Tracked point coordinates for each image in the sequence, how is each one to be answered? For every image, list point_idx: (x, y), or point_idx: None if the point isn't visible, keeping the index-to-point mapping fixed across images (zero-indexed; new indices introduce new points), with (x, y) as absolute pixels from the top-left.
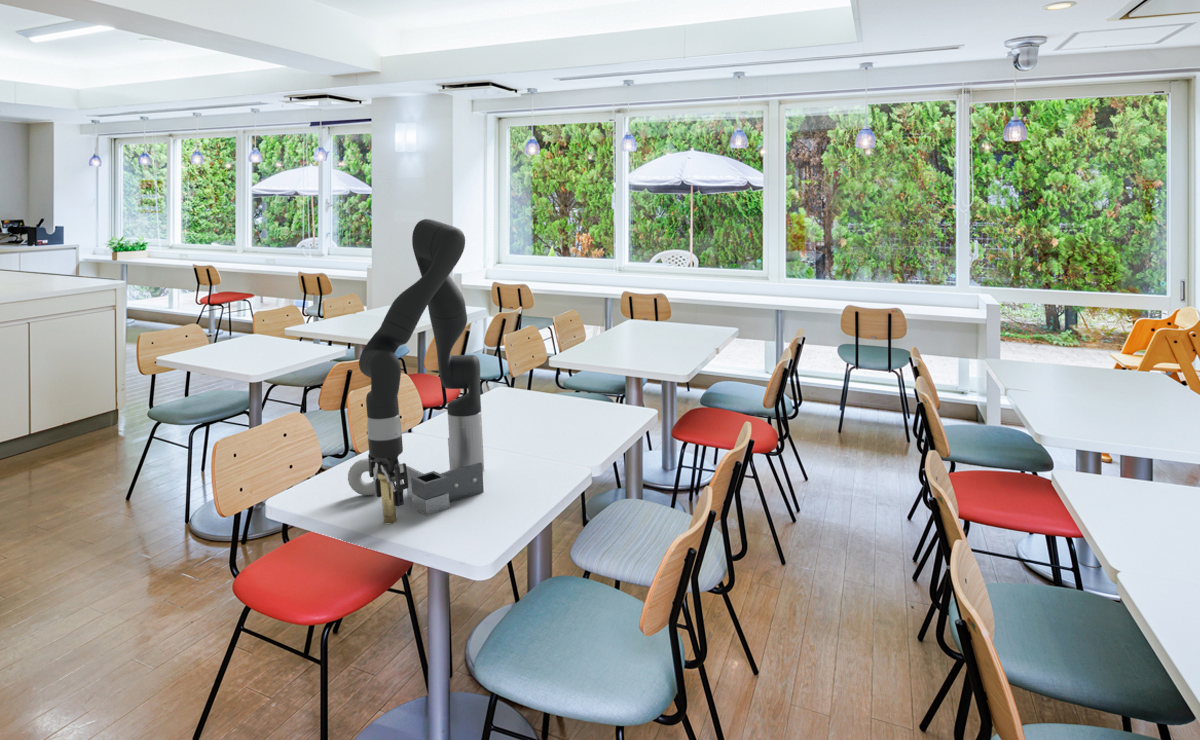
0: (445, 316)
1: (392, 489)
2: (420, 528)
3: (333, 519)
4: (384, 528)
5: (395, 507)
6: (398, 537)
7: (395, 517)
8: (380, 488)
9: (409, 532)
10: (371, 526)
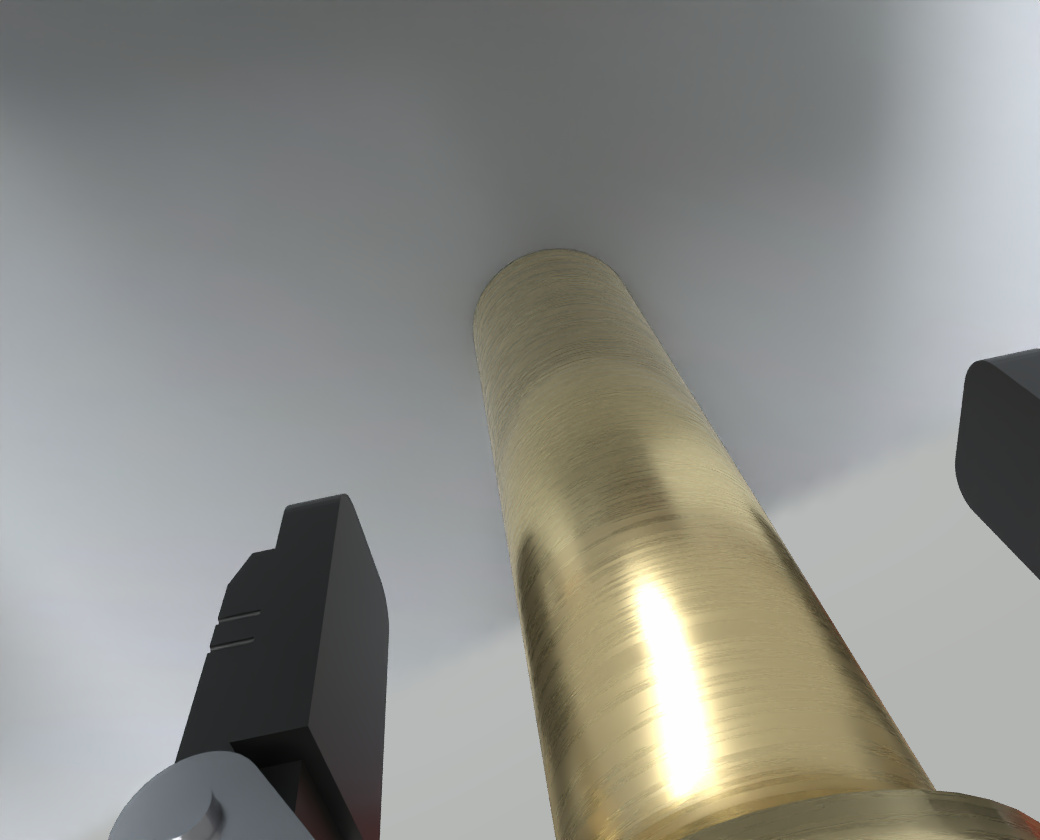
0: None
1: (820, 603)
2: (1033, 59)
3: (175, 752)
4: None
5: (649, 344)
6: None
7: (630, 298)
8: (362, 681)
9: (1015, 222)
10: None
